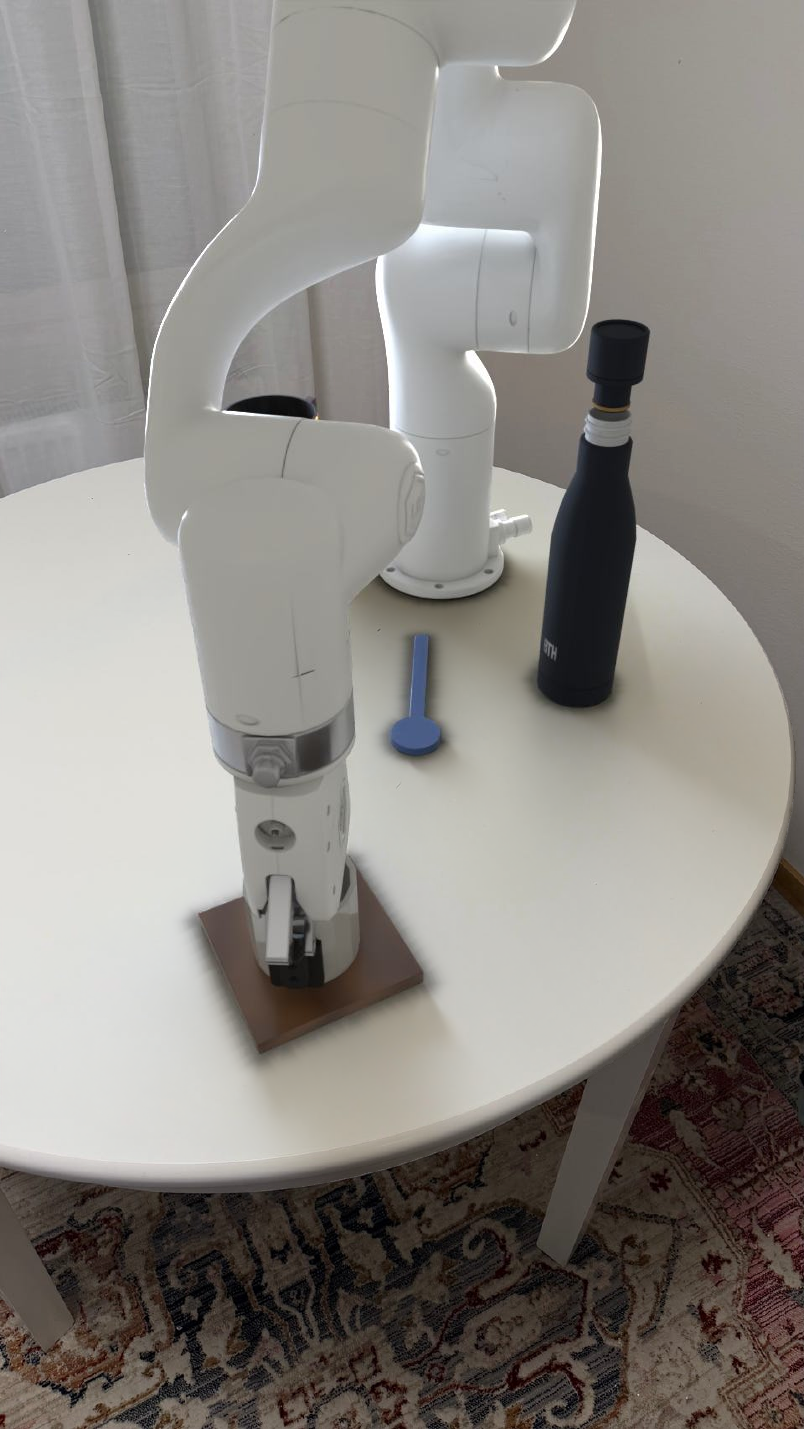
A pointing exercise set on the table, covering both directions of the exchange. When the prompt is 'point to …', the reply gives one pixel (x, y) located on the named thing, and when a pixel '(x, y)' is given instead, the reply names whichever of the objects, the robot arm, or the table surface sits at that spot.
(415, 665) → the spoon
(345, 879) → the pot
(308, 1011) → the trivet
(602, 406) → the insulated water bottle
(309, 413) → the mug
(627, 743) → the table surface
